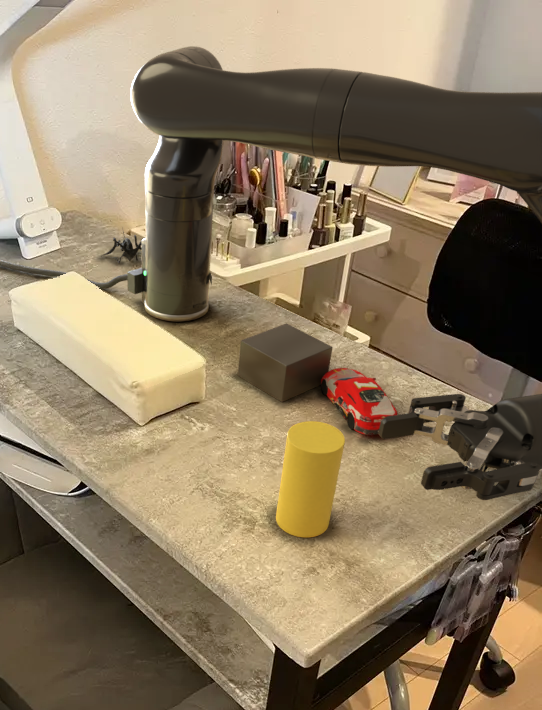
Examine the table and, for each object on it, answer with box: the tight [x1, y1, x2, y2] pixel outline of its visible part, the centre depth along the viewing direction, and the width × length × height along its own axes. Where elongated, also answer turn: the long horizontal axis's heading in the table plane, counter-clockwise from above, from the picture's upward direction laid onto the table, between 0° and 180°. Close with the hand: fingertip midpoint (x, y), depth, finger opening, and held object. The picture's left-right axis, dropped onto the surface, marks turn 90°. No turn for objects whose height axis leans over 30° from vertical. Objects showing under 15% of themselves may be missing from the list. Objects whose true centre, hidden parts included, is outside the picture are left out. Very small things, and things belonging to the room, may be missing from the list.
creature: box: [100, 227, 145, 264], centre depth 126 cm, size 8×5×8 cm
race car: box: [320, 367, 398, 436], centre depth 91 cm, size 13×5×4 cm, turn 13°
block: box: [237, 322, 334, 403], centre depth 96 cm, size 8×8×5 cm
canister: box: [275, 420, 346, 538], centre depth 73 cm, size 5×5×10 cm
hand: (401, 453), depth 74 cm, fingers open, 8 cm apart
